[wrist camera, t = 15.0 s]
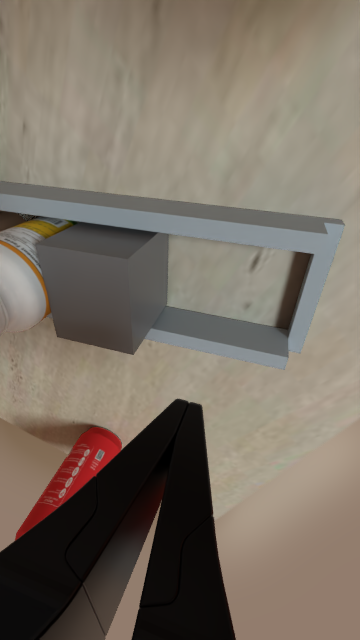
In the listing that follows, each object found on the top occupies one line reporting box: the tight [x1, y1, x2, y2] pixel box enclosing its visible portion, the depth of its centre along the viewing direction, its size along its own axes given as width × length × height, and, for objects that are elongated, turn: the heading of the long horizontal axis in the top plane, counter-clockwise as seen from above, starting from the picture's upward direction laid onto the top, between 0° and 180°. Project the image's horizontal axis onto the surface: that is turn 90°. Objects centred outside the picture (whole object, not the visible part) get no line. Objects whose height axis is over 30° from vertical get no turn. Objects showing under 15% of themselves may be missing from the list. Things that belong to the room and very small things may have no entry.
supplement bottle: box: [0, 216, 80, 335], centre depth 18 cm, size 5×5×10 cm
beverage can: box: [15, 427, 122, 540], centre depth 30 cm, size 5×5×12 cm
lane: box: [0, 181, 345, 370], centre depth 19 cm, size 26×8×5 cm, turn 88°
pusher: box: [35, 222, 168, 355], centre depth 18 cm, size 5×6×6 cm
